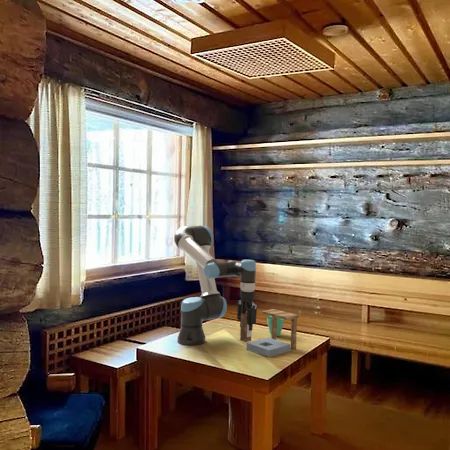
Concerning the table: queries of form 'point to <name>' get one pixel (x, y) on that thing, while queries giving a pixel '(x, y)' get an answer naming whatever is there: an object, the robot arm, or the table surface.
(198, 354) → the table surface
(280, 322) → the green tapered vase
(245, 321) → the peg
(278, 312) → the wooden arch frame
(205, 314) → the robot arm
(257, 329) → the table surface
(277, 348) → the socket block
